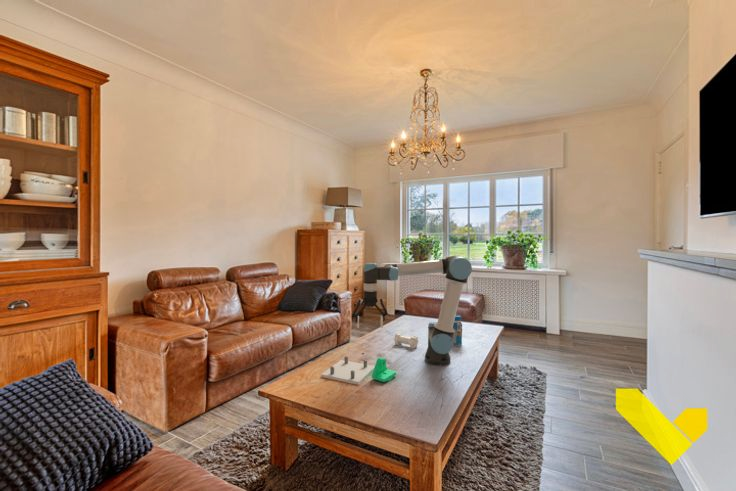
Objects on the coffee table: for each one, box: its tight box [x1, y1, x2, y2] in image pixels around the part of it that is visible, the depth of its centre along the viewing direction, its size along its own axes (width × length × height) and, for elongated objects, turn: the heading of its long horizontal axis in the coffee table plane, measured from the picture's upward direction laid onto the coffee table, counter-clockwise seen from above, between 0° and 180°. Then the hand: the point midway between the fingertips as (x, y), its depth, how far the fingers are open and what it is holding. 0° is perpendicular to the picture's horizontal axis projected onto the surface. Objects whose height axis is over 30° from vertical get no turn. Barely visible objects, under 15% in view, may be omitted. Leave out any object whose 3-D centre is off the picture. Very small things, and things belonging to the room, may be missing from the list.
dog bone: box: [393, 332, 419, 350], centre depth 229 cm, size 15×9×8 cm, turn 56°
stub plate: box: [320, 355, 375, 386], centre depth 184 cm, size 22×22×5 cm
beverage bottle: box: [453, 314, 463, 347], centre depth 233 cm, size 8×8×20 cm
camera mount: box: [371, 357, 397, 383], centre depth 178 cm, size 12×8×10 cm, turn 142°
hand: (369, 327), depth 192 cm, fingers open, 13 cm apart
